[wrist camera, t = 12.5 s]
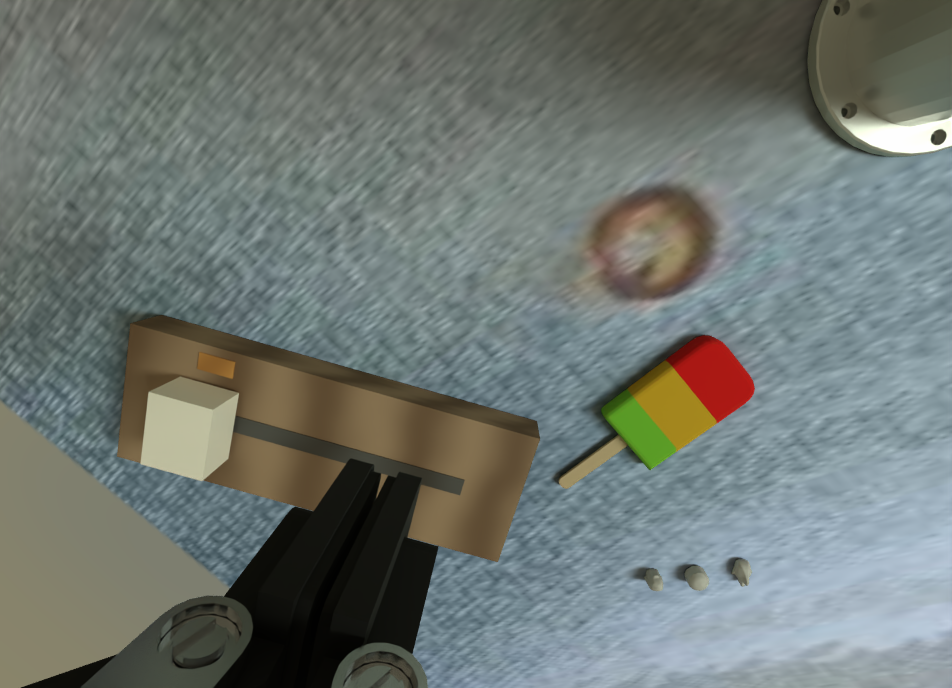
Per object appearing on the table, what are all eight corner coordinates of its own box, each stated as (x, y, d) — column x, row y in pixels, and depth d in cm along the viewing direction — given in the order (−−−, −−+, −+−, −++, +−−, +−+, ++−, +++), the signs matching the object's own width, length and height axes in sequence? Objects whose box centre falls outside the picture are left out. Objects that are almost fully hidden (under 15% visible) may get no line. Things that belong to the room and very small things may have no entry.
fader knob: (239, 392, 32) (213, 409, 29) (228, 458, 34) (202, 481, 31) (180, 376, 32) (148, 391, 29) (171, 442, 33) (140, 463, 31)
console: (536, 421, 35) (540, 439, 32) (498, 535, 38) (497, 563, 35) (161, 314, 35) (129, 323, 32) (147, 438, 37) (116, 457, 34)
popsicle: (751, 383, 34) (765, 393, 32) (582, 503, 37) (586, 518, 35) (705, 325, 33) (717, 331, 32) (536, 453, 36) (537, 465, 35)
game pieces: (748, 554, 37) (761, 571, 36) (746, 577, 38) (759, 596, 36) (642, 558, 38) (649, 575, 36) (642, 581, 38) (649, 599, 37)
